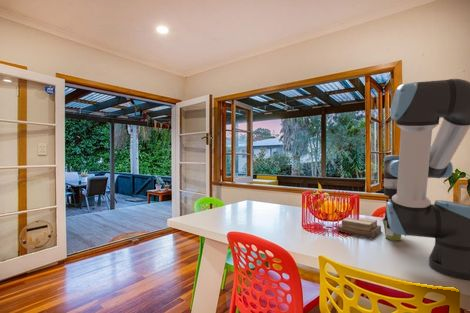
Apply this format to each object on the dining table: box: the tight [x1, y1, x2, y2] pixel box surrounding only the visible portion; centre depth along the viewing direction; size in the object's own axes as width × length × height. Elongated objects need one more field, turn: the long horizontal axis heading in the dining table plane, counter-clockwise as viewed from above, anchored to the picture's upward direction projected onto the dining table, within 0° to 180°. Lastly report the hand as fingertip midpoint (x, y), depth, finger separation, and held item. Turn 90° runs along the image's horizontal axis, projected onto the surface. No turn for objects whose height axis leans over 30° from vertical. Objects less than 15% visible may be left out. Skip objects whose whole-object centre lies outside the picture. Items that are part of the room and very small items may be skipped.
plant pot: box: [381, 218, 402, 242], centre depth 121 cm, size 9×9×9 cm
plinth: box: [337, 216, 382, 240], centre depth 132 cm, size 16×16×6 cm
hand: (393, 232), depth 121 cm, fingers open, 13 cm apart
